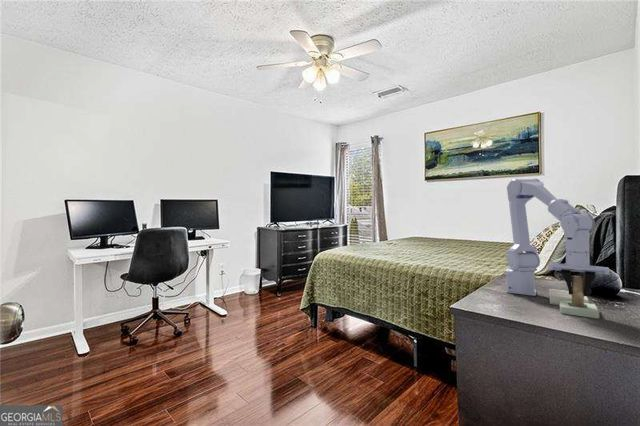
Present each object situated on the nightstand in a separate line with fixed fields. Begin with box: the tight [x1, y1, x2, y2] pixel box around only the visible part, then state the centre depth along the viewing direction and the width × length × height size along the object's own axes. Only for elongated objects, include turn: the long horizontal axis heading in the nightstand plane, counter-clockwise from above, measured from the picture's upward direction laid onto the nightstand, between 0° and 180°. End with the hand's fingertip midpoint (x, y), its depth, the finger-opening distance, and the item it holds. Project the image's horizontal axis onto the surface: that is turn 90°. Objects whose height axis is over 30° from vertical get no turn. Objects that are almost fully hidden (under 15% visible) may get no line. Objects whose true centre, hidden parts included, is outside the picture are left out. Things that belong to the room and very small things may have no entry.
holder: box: [558, 300, 600, 320], centre depth 97 cm, size 9×9×2 cm
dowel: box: [571, 275, 584, 307], centre depth 97 cm, size 3×3×9 cm
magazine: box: [579, 253, 594, 295], centre depth 121 cm, size 4×13×15 cm, turn 137°
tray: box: [548, 288, 589, 306], centre depth 107 cm, size 10×10×3 cm
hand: (577, 294), depth 97 cm, fingers closed on dowel, 3 cm apart
